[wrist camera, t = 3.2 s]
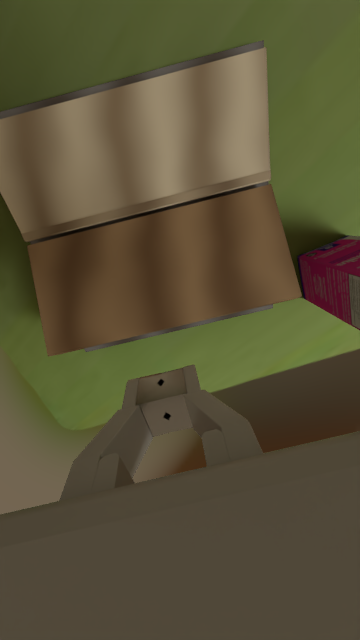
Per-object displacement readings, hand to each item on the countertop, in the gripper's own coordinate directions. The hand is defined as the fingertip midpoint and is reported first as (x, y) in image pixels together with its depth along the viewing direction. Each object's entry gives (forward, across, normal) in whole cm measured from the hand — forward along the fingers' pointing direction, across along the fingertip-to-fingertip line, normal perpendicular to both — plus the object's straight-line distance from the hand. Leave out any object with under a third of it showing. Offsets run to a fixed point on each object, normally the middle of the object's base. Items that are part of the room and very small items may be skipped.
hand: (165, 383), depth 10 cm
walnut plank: (+12, 0, -2) cm, 13 cm away
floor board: (+16, 0, -5) cm, 17 cm away
